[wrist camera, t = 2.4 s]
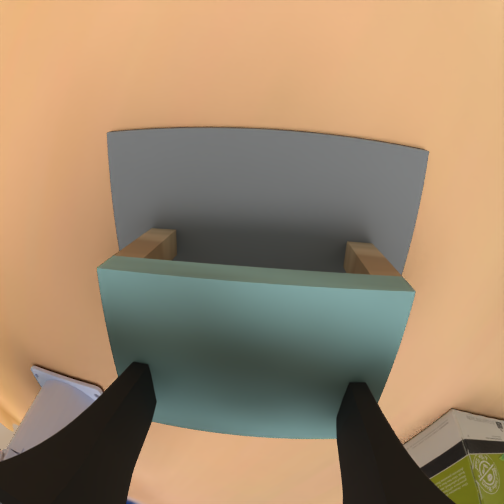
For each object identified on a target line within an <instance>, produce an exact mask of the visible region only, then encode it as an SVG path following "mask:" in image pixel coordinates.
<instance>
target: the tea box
mask: <svg viewBox="0 0 504 504" xmlns="http://www.w3.org/2000/svg"><path fill="white" fill-rule="evenodd" d="M403 446H404V448H405V449H406V450H407V452H408V453H409V455H410V456H411V457H412V459H413V460H414V461H415V462H416V464H417V465H418V466H419V467H420V469H421V470H422V471H423V472H424V473H425V474H426V475H427V477H428V478H429V479H430V480H431V481H432V482H433V483H434V484H435V485H436V486H437V487H438V488H439V489H440V490H441V491H442V492H443V493H444V494H445V495H446V496H447V497H449V498H450V499H451V500H452V501H453V502H455V503H456V504H504V421H503V420H497V419H494V418H487V417H484V416H480V415H474V414H471V413H468V412H462V411H459V410H456V409H451V410H449V411H448V412H447V413H446V414H444V415H443V416H442V417H440V418H439V419H438V420H437V421H435V422H434V423H433V424H431V425H430V426H429V427H427V428H426V429H425V430H423V431H422V432H421V433H419V434H418V435H416V436H415V437H414V438H412V439H411V440H409V441H408V442H406V443H405V444H403Z"/></svg>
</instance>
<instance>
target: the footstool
mask: <svg viewBox="0 0 504 504" xmlns="http://www.w3.org/2000/svg"><path fill="white" fill-rule="evenodd" d="M176 255H177V241H176V230H175V229H157V228H151V229H150V230H149V231H147V232H146V233H144V234H143V235H141V236H140V237H139V238H137V239H136V240H134V241H133V242H131V243H130V244H129V245H127V246H126V247H124V248H123V249H122V250H120V251H119V252H118V253H116V254H115V255H113V256H112V257H111V258H109V259H108V260H107V261H105V262H104V263H103V264H101V265H100V266H99V267H97V274H98V281H99V287H100V294H101V300H102V306H103V311H104V317H105V322H106V327H107V332H108V336H109V341H110V345H111V350H112V354H113V358H114V362H115V366H116V370H117V374H118V377H119V376H120V375H121V374H122V373H123V372H124V370H125V369H126V368H127V367H128V366H129V365H130V364H131V363H132V362H139V363H144V364H148V365H149V368H150V372H151V375H152V381H153V386H154V391H155V396H156V401H157V403H156V407H155V411H154V415H153V419H152V422H157V423H161V424H166V425H172V426H177V427H182V428H188V429H194V430H201V431H208V432H215V433H223V434H232V435H242V436H253V437H267V438H289V439H337V436H336V417H337V414H338V411H339V408H340V405H341V402H342V399H343V397H344V394H345V392H346V389H347V387H348V385H349V382H366V384H367V385H368V387H369V389H370V391H371V392H372V394H373V396H374V398H375V400H376V402H377V404H378V401H379V399H380V396H381V394H382V392H383V389H384V387H385V384H386V382H387V379H388V376H389V374H390V371H391V368H392V366H393V363H394V360H395V357H396V355H397V352H398V349H399V346H400V343H401V340H402V337H403V334H404V330H405V327H406V324H407V321H408V317H409V314H410V310H411V307H412V303H413V300H414V296H415V290H414V289H413V288H412V287H411V286H410V285H409V283H408V282H407V281H406V280H405V279H404V278H403V277H402V275H401V274H400V273H399V272H398V271H397V270H396V269H395V268H394V267H393V265H392V264H391V263H390V262H389V261H388V260H387V259H386V258H385V257H384V256H383V254H382V253H381V252H380V251H379V250H378V249H377V248H376V247H375V246H374V245H373V244H372V243H362V242H349V241H347V245H346V252H345V258H344V265H343V267H344V269H345V271H346V273H335V272H320V271H305V270H290V269H276V268H261V267H248V266H234V265H221V264H208V263H196V262H183V261H172V260H173V259H174V257H175V256H176Z"/></svg>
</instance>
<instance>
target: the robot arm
mask: <svg viewBox="0 0 504 504" xmlns="http://www.w3.org/2000/svg"><path fill="white" fill-rule="evenodd" d="M31 371H32V373H33V374H34V376H35V378H36V379H37V381H38V383H39V384H40V386H41V387H42V388H41V390H40V391H39V393H38V395H37V396H36V398H35V400H34V401H33V403H32V404H31V406H30V408H29V409H28V411H27V413H26V415H25V416H24V418H23V420H22V421H21V423H20V425H19V427H18V428H17V430H16V432H15V434H14V436H13V438H12V440H11V441H10V443H9V445H8V447H7V449H3V450H1V449H0V504H126V501H127V496H128V491H129V486H130V482H131V478H132V473H133V470H134V467H135V464H136V461H137V459H138V456H139V454H140V451H141V448H142V446H143V443H144V441H145V438H146V435H147V433H148V430H149V427H150V425H151V422H152V419H153V415H154V411H155V407H156V403H157V401H156V396H155V391H154V386H153V381H152V375H151V372H150V368H149V365H148V364H144V363H139V362H132V363H131V364H130V365H129V366H128V367H127V368H126V369H125V370H124V372H123V373H122V374H121V375H120V376H119V377H118V378H117V379H116V380H115V381H114V382H113V383H112V384H111V385H110V386H109V387H108V388H107V389H106V390H105V391H104V392H102V390H101V389H100V388H99V387H98V386H95V385H92V384H88V383H85V382H82V381H78V380H75V379H72V378H69V377H66V376H63V375H60V374H57V373H54V372H51V371H48V370H45V369H42V368H40V367H37V366H34V365H33V366H32V367H31ZM336 436H337V445H338V453H339V461H340V469H341V478H342V487H343V504H456V503H455V502H453V501H452V500H451V499H450V498H449V497H447V496H446V495H445V494H444V493H443V492H442V491H441V490H440V489H439V488H438V487H437V486H436V485H435V484H434V483H433V482H432V481H431V480H430V479H429V478H428V477H427V475H426V474H425V473H424V472H423V471H422V470H421V469H420V467H419V466H418V465H417V464H416V462H415V461H414V460H413V459H412V457H411V456H410V455H409V453H408V452H407V450H406V449H405V448H404V446H403V445H402V443H401V442H400V440H399V439H398V437H397V436H396V434H395V433H394V431H393V429H392V428H391V426H390V424H389V423H388V421H387V419H386V418H385V416H384V414H383V413H382V411H381V409H380V407H379V405H378V404H377V402H376V400H375V398H374V396H373V394H372V392H371V391H370V389H369V387H368V385H367V384H366V382H349V385H348V387H347V389H346V392H345V394H344V397H343V399H342V402H341V405H340V408H339V411H338V414H337V417H336Z"/></svg>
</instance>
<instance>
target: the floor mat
mask: <svg viewBox="0 0 504 504" xmlns="http://www.w3.org/2000/svg"><path fill="white" fill-rule="evenodd" d="M107 143H108V159H109V171H110V182H111V192H112V201H113V210H114V217H115V225H116V232H117V238H118V245H119V251H120V250H122V249H123V248H124V247H126V246H127V245H129V244H130V243H131V242H133V241H134V240H136V239H137V238H139V237H140V236H141V235H143V234H144V233H146V232H147V231H149V230H150V229H151V228H157V229H175V230H176V241H177V255H176V256H175V257H174V259H173V260H172V261H183V262H196V263H208V264H221V265H234V266H248V267H261V268H276V269H290V270H305V271H320V272H335V273H346V271H345V269H344V267H343V265H344V258H345V252H346V245H347V241H349V242H362V243H372V244H373V245H374V246H375V247H376V248H377V249H378V250H379V251H380V252H381V253H382V254H383V256H384V257H385V258H386V259H387V260H388V261H389V262H390V263H391V264H392V265H393V267H394V268H395V269H396V270H397V271H398V272H399V273H400V274H401V275H402V272H403V269H404V265H405V262H406V258H407V254H408V251H409V247H410V243H411V239H412V235H413V231H414V227H415V223H416V218H417V214H418V209H419V205H420V200H421V195H422V190H423V185H424V179H425V173H426V168H427V161H428V155H429V151H427V150H423V149H419V148H414V147H409V146H403V145H398V144H393V143H387V142H381V141H375V140H368V139H362V138H355V137H347V136H340V135H331V134H322V133H313V132H302V131H290V130H276V129H258V128H229V127H183V128H155V129H137V130H123V131H112V132H108V133H107Z"/></svg>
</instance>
